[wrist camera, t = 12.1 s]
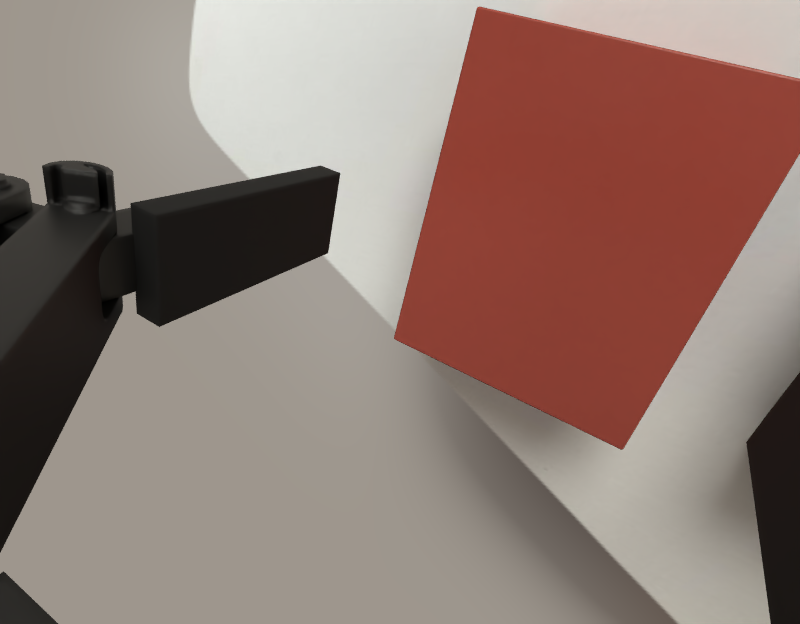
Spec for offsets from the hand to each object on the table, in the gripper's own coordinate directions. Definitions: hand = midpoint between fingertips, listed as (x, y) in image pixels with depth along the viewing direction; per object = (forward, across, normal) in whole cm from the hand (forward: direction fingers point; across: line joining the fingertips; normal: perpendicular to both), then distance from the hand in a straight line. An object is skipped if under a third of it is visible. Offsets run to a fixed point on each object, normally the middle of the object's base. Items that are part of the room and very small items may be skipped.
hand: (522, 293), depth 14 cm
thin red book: (+8, 0, 0) cm, 8 cm away
